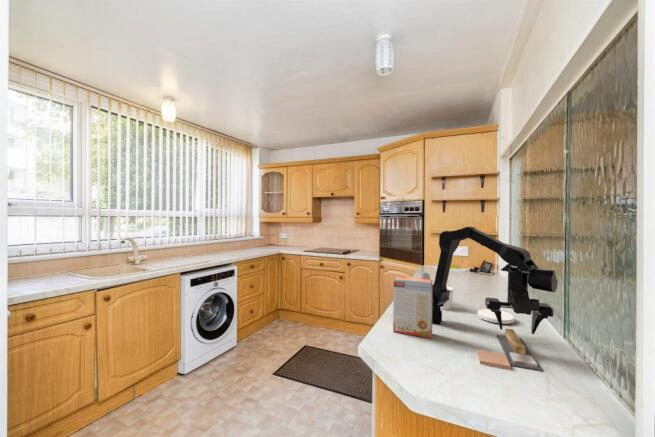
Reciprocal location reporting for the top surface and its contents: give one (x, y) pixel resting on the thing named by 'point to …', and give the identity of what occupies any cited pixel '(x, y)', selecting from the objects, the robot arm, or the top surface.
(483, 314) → the white gear
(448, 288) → the white cup
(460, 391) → the top surface
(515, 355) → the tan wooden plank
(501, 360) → the tile
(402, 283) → the cracker box
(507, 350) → the mat
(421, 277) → the energy drink can
